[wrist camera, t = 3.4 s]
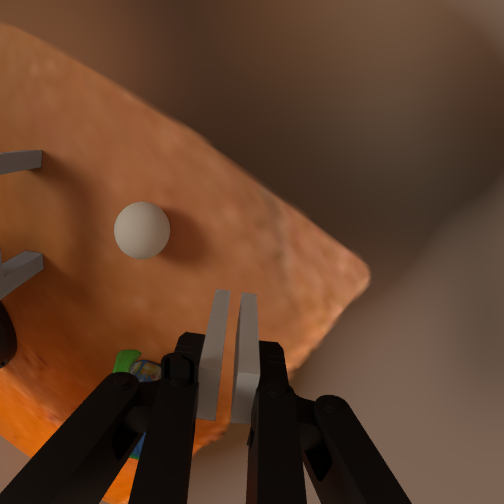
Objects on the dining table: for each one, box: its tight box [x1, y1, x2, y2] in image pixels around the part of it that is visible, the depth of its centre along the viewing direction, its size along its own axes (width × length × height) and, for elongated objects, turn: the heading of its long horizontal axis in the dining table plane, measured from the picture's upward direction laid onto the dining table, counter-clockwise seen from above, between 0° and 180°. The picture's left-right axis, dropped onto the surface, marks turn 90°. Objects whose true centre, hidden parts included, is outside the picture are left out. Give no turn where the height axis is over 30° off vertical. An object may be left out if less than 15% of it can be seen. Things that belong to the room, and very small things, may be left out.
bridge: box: [0, 150, 44, 300], centre depth 27 cm, size 3×14×9 cm, turn 172°
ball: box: [114, 202, 170, 259], centre depth 29 cm, size 6×6×6 cm
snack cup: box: [112, 350, 161, 460], centre depth 34 cm, size 16×10×10 cm
